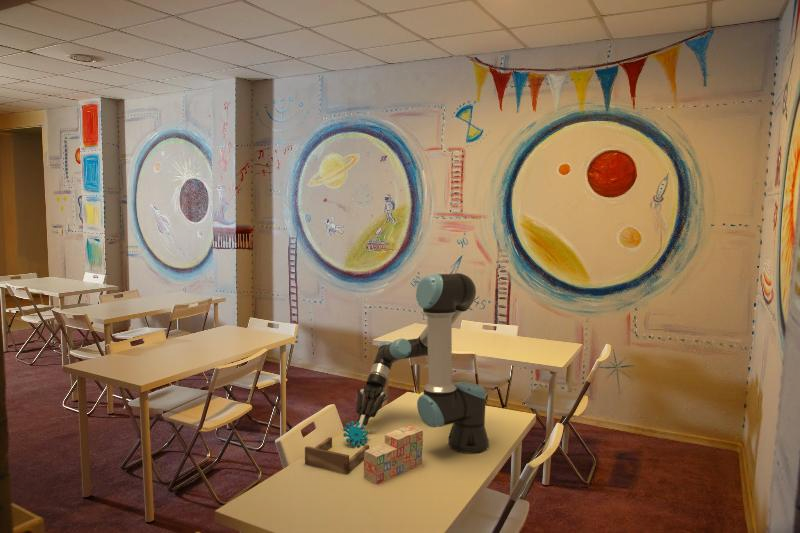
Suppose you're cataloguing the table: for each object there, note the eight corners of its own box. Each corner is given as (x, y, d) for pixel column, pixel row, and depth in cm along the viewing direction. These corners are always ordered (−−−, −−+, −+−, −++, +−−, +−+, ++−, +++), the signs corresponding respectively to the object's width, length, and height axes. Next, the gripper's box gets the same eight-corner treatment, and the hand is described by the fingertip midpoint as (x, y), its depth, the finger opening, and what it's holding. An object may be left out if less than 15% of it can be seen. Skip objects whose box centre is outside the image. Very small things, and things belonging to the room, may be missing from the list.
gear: (348, 446, 194) (341, 420, 199) (341, 453, 197) (335, 428, 203) (374, 444, 200) (367, 419, 206) (366, 450, 203) (360, 426, 209)
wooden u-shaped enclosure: (329, 446, 197) (329, 430, 197) (369, 454, 191) (369, 438, 190) (304, 464, 182) (304, 447, 182) (347, 474, 176) (347, 456, 175)
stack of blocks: (376, 485, 170) (376, 447, 168) (363, 478, 174) (363, 441, 173) (422, 464, 185) (423, 429, 183) (409, 458, 189) (410, 424, 188)
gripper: (395, 383, 218) (377, 439, 205) (366, 379, 224) (347, 433, 211) (389, 374, 213) (370, 431, 200) (360, 370, 218) (340, 425, 205)
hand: (358, 432), depth 205 cm, fingers closed
